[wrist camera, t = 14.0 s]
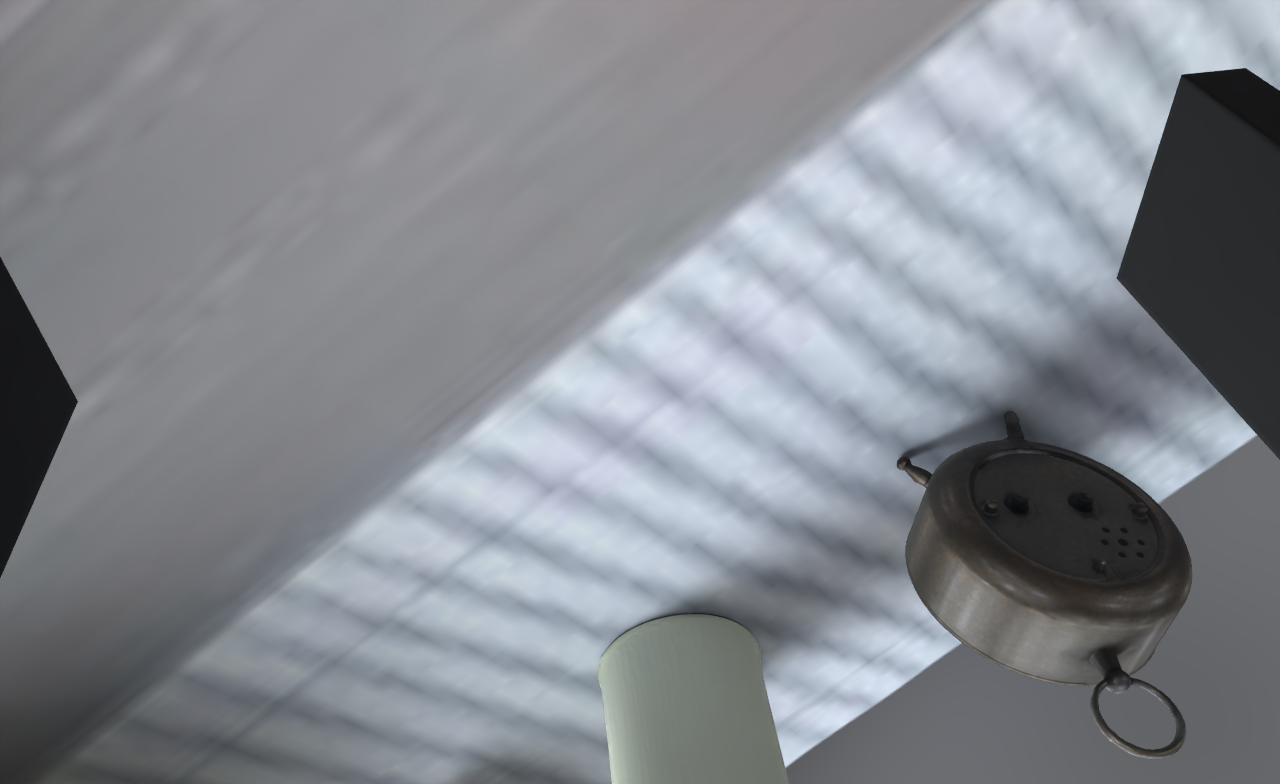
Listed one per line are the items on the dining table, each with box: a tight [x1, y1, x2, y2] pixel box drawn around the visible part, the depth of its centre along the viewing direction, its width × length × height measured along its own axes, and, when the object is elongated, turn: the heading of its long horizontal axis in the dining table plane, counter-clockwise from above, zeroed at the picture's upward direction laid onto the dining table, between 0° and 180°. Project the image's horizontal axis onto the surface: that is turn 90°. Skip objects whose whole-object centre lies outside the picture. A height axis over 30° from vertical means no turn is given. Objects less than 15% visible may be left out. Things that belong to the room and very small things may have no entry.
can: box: [598, 614, 789, 784], centre depth 52 cm, size 9×9×12 cm
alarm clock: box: [897, 411, 1192, 759], centre depth 42 cm, size 11×5×16 cm, turn 83°
